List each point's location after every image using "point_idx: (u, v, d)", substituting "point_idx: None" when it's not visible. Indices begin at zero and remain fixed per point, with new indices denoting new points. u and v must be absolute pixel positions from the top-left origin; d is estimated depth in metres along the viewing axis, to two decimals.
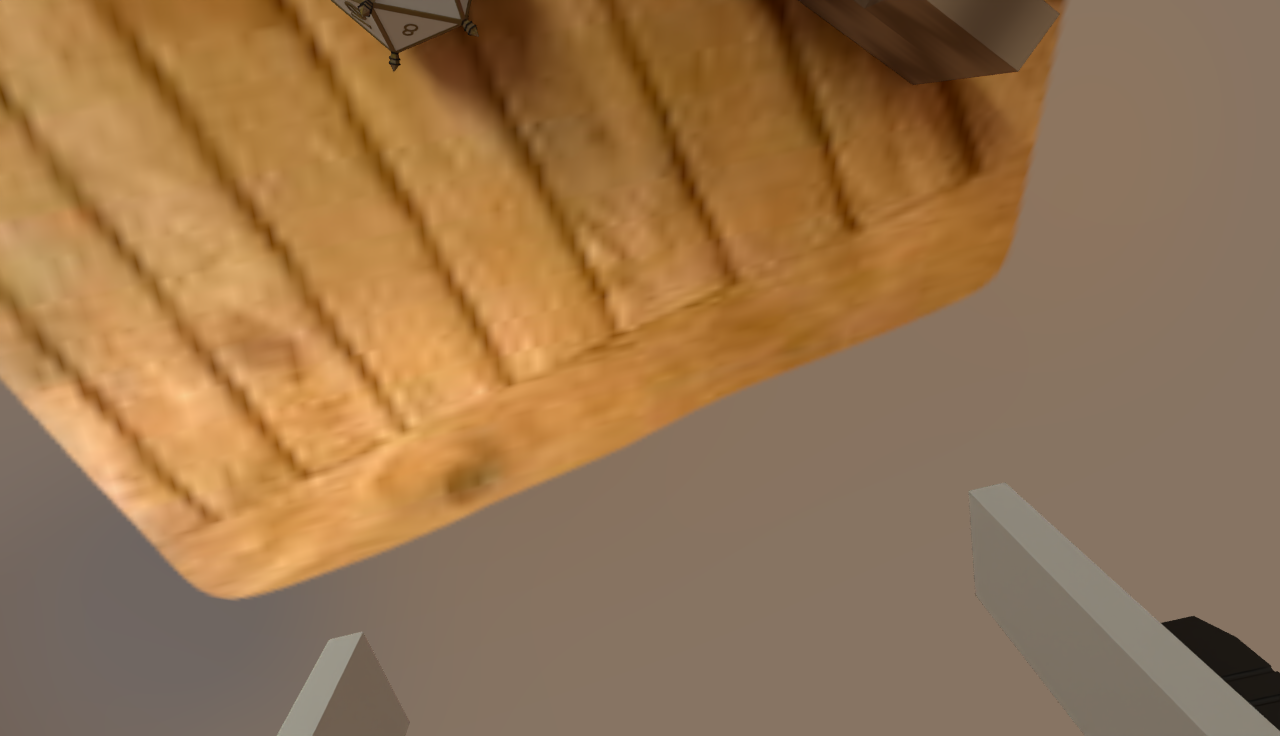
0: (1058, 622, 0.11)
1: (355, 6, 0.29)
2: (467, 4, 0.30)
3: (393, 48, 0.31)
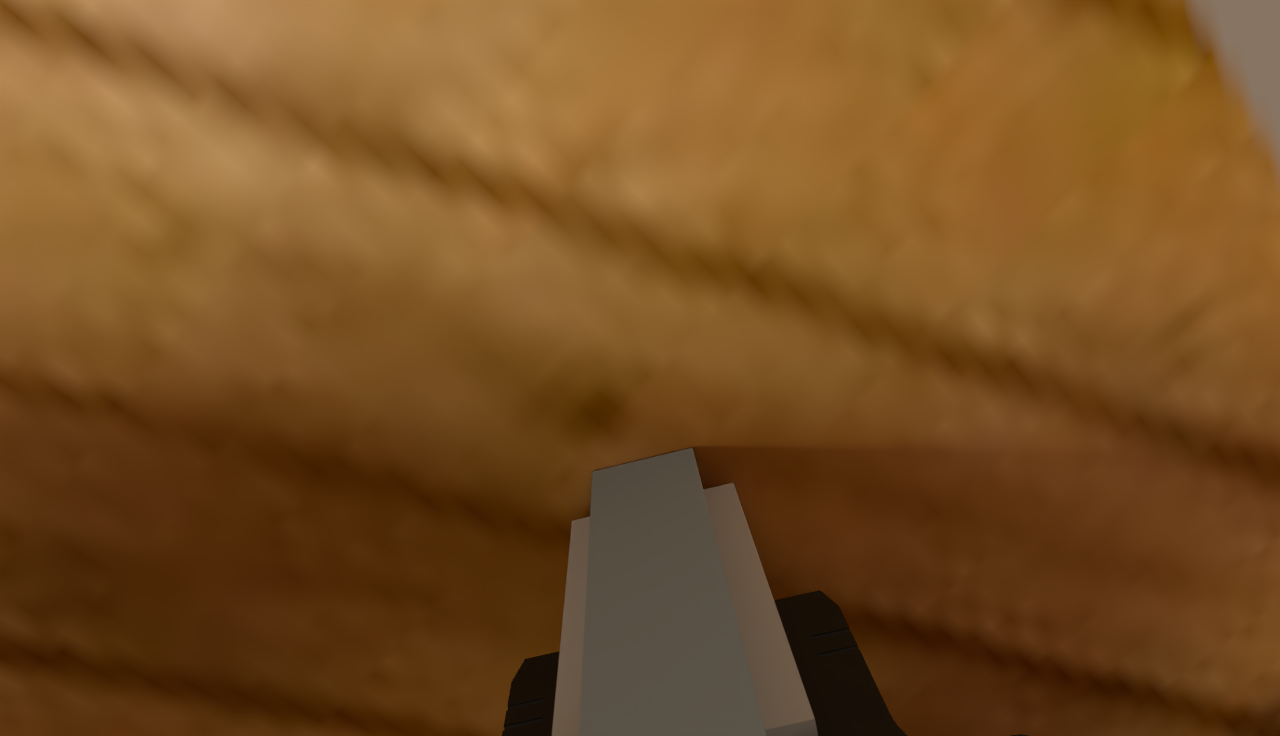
0: None
1: None
2: None
3: None
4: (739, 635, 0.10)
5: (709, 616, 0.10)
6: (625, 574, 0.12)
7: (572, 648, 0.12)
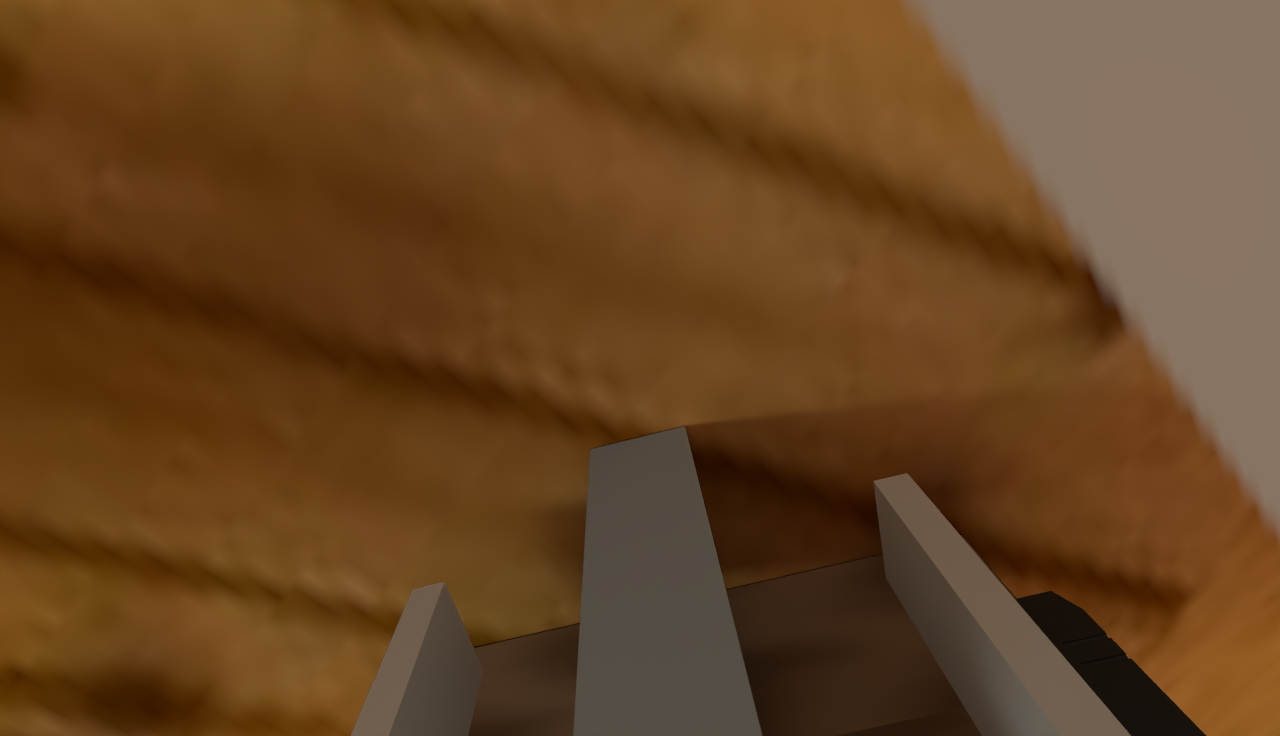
0: (936, 598, 0.12)
1: None
2: None
3: None
4: (724, 587, 0.11)
5: (696, 572, 0.11)
6: (620, 538, 0.13)
7: None
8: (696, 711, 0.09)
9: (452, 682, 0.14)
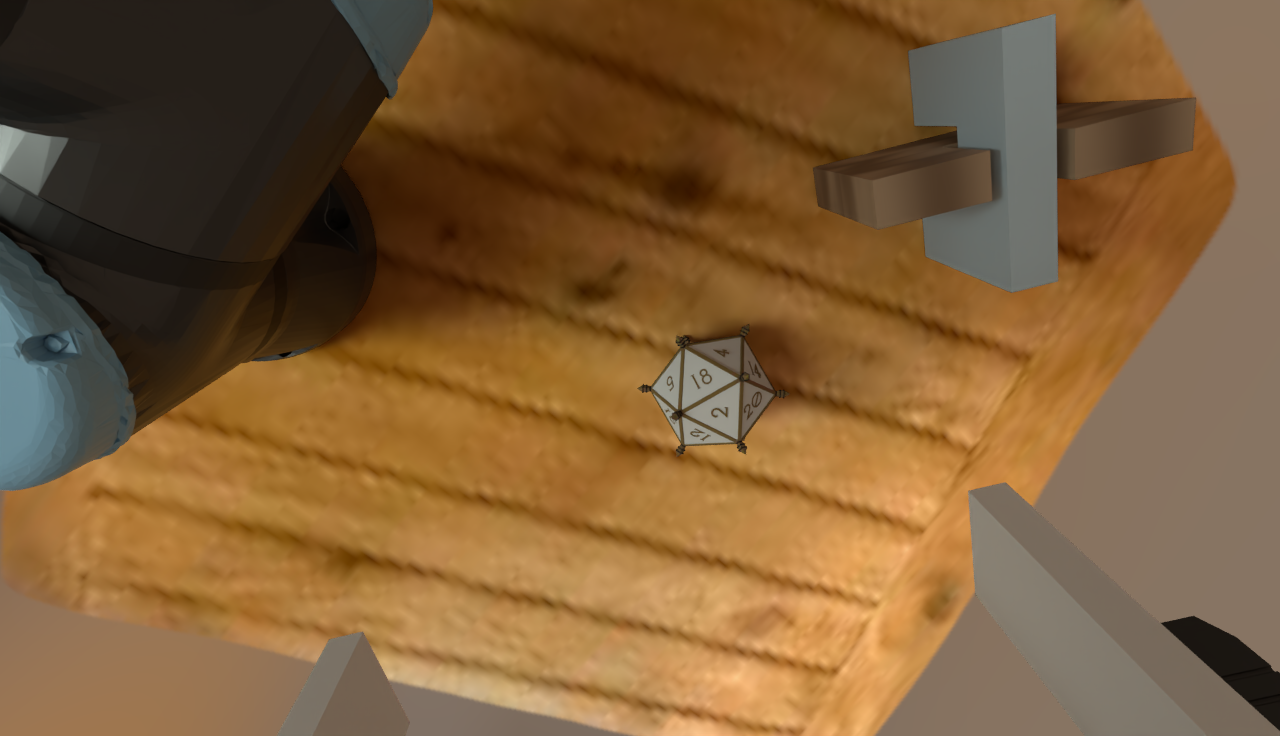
0: (1058, 621, 0.11)
1: None
2: (769, 383, 0.42)
3: None
4: (1005, 26, 0.33)
5: None
6: None
7: None
8: (1017, 23, 0.31)
9: None
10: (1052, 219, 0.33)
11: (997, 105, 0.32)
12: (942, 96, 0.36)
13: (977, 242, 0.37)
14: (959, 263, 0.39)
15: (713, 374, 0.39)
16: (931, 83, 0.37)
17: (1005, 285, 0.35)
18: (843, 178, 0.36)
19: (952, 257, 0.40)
